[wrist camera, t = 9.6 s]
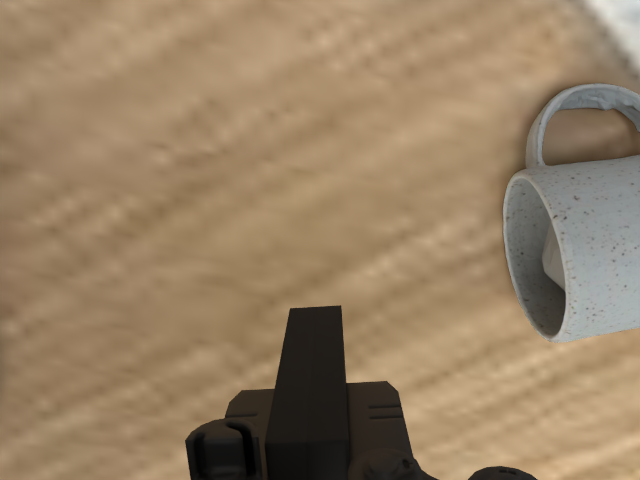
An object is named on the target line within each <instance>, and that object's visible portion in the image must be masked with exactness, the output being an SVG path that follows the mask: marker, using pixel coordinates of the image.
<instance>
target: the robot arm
mask: <svg viewBox="0 0 640 480" xmlns="http://www.w3.org/2000/svg"><path fill="white" fill-rule="evenodd" d="M185 443H186V450H187V456H188V463H189V470H190V477H191V480H438V479H436V478H434V477H432V476H429V475H428V474H427V473H425V472H424V471H422V470H421V468H420V466H419V464H418V462H417V461H416V459H414V458H413V454H412V450H411V445H410V441H409V437H408V432H407V428H406V424H405V420H404V416H403V411H402V407H401V402H400V398H399V394H398V391H397V390H396V389H395V388H394V387H393V386H391V385H390V384H389V383H388V382H387V381H380V382H361V383H346V372H345V357H344V341H343V326H342V310H341V306H324V307H307V308H290V312H289V317H288V322H287V327H286V333H285V338H284V343H283V348H282V354H281V359H280V364H279V369H278V375H277V380H276V385H275V389H261V390H243V391H241V392H240V393H239V394H238V395H237V396H236V397H235V398H233V399H232V400H231V401H230V402H229V405H228V408H227V411H226V414H225V418H224V419H219V420H214V421H211V422H209V423H206V424H203V425H201V426H200V427H198V428H197V429H195V430H194V431H192V432H191V433H190V435H189V436H188V437H187V439H186V440H185ZM468 480H537V479H536V478H535V477H533V476H532V475H530V474H528V473H526V472H523V471H521V470H519V469H515V468H509V467H503V466H497V467H486V468H484V469H481V470H479V471H476V472H475V473H474V474H473V475H472V476H471V477H470V478H469V479H468Z"/></svg>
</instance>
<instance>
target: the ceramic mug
mask: <svg viewBox="0 0 640 480" xmlns="http://www.w3.org/2000/svg"><path fill="white" fill-rule="evenodd" d="M576 108H599V109H601V110H604V111H605V110H609V109H612V108H614V109H616V110H619V111H620V112H622V113H623V114H624V115H625V116H627V117H628V118H629V119H630V120H631V121H632V122H633V124H634V125H635V127H636V130H637V131H638V132H639V133H640V95H638V94H637V93H635V92H633V91H631V90H629V89H627V88H624V87H621V86H617V85H612V84H604V83H596V84H585V85H578V86H575V87H572V88H569V89H566V90H563V91H562V92H560V93H559V94H558V95H557V96H555V97H554V98H552V99H551V100H550V101H549V102H548V104H547V105H546V106H545V107H544V108H543V110H542V111H541V112H540V113H539V115H538V116H537V118H536V119H535V121H534V123H533V125H532V127H531V129H530V132H529V135H528V139H527V145H526V160H525V162H526V169H523V170H520V171H518V172H516V173H515V174H514V175H513V176H512V177H511V179H510V181H509V183H508V187H507V189H506V194H505V198H504V204H503V222H504V224H503V235H504V243H505V250H506V258H507V261H508V268H509V271H510V275H511V279H512V283H513V286H514V289H515V292H516V295H517V298H518V301H519V304H520V305H521V307H522V309H523V311H524V313H525V315H526V317H527V319H528V320H529V321H530V323H531V325H532V326H533V327H534V329H535V330H536V331H537V333H538V334H539V335H541V336H542V337H543V338H544V339H546V340H548V341H550V342H555V343H558V342H569V341H573V340H578V339H583V338H587V337H592V336H597V335H603V334H608V333H613V332H618V331H623V330H628V329H635V328H639V327H640V155H635V156H629V157H625V158H618V159H609V160H599V161H589V162H579V163H570V164H560V165H555V166H547V165H546V164H545V163H544V161H543V158H542V147H543V138H544V133H545V128H546V125H547V123H548V121H549V119H550V118H551V117H552V115H553V114H554V113H555V112H556V111H558V110H562V109H576Z"/></svg>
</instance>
